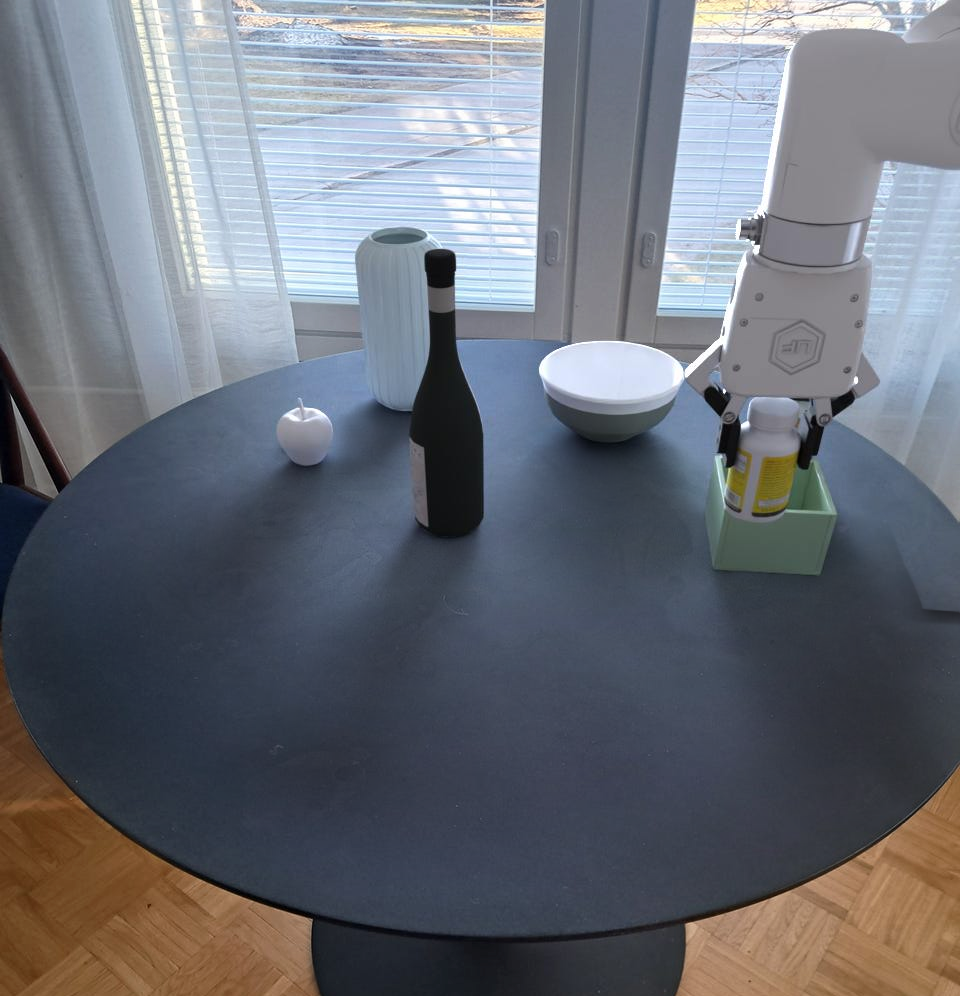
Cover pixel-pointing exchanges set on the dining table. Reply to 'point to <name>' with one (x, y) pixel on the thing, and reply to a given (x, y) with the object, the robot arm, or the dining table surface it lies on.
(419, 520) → the wine bottle
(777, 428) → the supplement bottle
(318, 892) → the dining table surface
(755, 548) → the bin
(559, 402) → the bowl
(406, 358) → the vase
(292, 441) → the plain white apple
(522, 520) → the dining table surface
